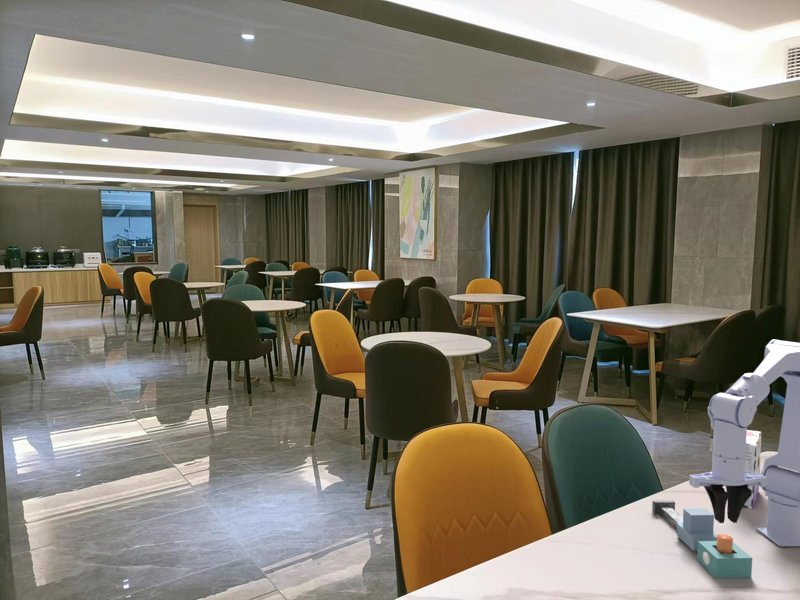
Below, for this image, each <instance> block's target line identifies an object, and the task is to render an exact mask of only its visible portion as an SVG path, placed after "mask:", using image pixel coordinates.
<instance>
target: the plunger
mask: <svg viewBox="0 0 800 600" xmlns="http://www.w3.org/2000/svg"><path fill="white" fill-rule="evenodd" d="M733 543H734V538H733V537H732V536H730V535H729V534H726V533H725V534H724V533H718V534H717V548H716V550H717V551H718V552H719V553H721V554H732V548H733Z"/></svg>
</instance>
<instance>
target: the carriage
mask: <svg viewBox="0 0 800 600" xmlns="http://www.w3.org/2000/svg"><path fill="white" fill-rule="evenodd" d="M682 513H683V515H682V517H683V523H676V527H677V530H676V536H677V537H678V538H679V539H680V540H681V541H682V542H683V543H685V545H687V547H688V548H690V549H691V551H693V552H698V541H717V535H718V534H717V533H716V532H715V531H714V527H715V526H714V525H715V517H714V513H712V512H711V511H710V510H709V509H707V508H683V512H682Z"/></svg>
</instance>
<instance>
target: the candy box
mask: <svg viewBox="0 0 800 600" xmlns="http://www.w3.org/2000/svg"><path fill="white" fill-rule="evenodd" d="M761 449H762V431H758V430H753V429H752V430H751V429H747V435H746V455H745V473H751V474H760V473H761V471H760V470H761V452H762V450H761ZM748 488H749V489H750V490H752V495H751V496H750V498H749V499H748V500H747V501H746V503H745V504H744V506H743V508H744V509H749V510H753V509H754V507H755V504H756V501H757V497H758V495H759V494H758V493H759V490H760V486H748Z"/></svg>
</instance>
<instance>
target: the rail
mask: <svg viewBox="0 0 800 600" xmlns="http://www.w3.org/2000/svg"><path fill="white" fill-rule="evenodd" d="M651 504H652V505H651V507H652V508H651V509H652V510H651V512H652V514H653V515H659V516H661V517H662V518H663V519H664V520H665V522H667V523H669V525H670V526H672V527H673V528H674V529H675V530H676V531H677V527H676V523H683V516H681V515H680V514H679V513H678V512H677V511H676V502H675V500H673V499H665V500H664V499H657V500H656V499H654V500H652V503H651Z"/></svg>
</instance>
